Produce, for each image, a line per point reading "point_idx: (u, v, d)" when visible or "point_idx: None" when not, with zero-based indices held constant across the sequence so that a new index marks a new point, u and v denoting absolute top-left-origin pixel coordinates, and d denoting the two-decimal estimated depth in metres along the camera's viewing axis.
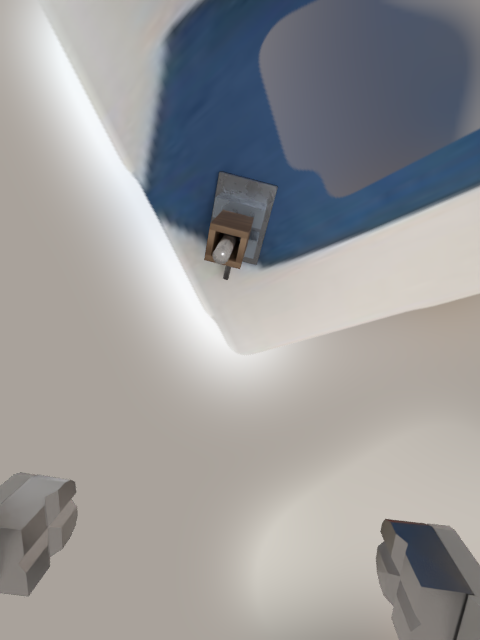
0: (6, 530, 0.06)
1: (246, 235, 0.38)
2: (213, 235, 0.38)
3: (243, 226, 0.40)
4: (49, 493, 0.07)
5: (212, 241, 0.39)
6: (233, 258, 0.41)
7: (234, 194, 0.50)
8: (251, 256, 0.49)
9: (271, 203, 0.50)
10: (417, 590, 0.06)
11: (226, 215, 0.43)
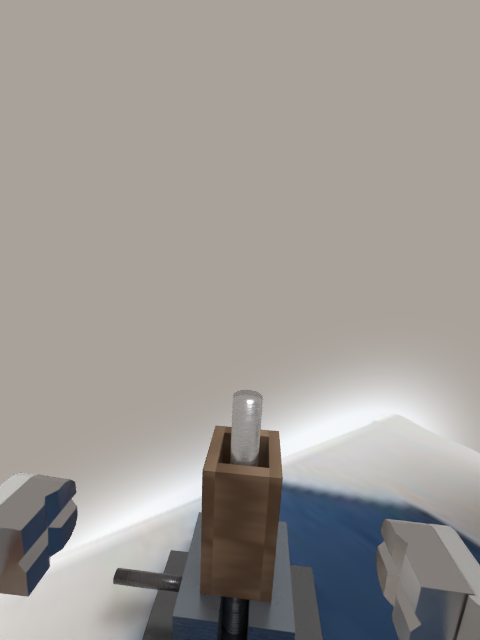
0: (6, 530, 0.06)
1: (276, 476, 0.18)
2: (260, 434, 0.22)
3: None
4: (49, 493, 0.07)
5: None
6: None
7: None
8: (178, 610, 0.20)
9: None
10: (417, 590, 0.06)
11: None
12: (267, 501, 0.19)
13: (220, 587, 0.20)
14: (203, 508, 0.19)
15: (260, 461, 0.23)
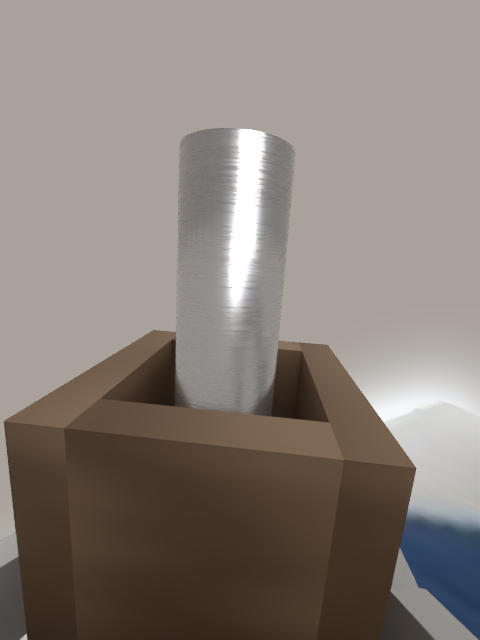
0: None
1: (378, 456, 0.03)
2: None
3: None
4: None
5: None
6: None
7: None
8: None
9: None
10: None
11: None
12: (324, 583, 0.04)
13: None
14: (30, 600, 0.04)
15: None
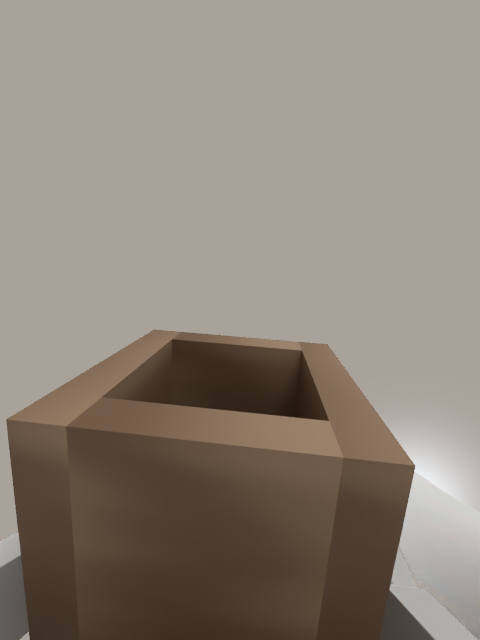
0: None
1: (378, 454, 0.04)
2: (276, 346, 0.08)
3: None
4: None
5: (246, 344, 0.08)
6: None
7: None
8: None
9: None
10: None
11: None
12: (324, 580, 0.04)
13: None
14: (32, 597, 0.04)
15: None
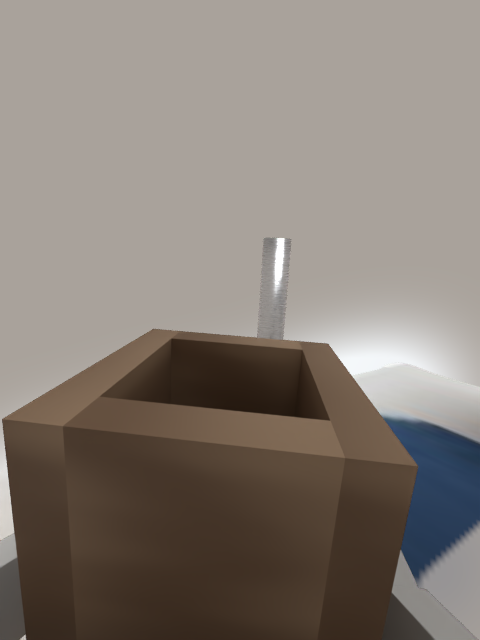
0: None
1: (379, 454, 0.03)
2: (276, 345, 0.08)
3: None
4: None
5: (245, 343, 0.08)
6: None
7: None
8: None
9: None
10: None
11: None
12: (325, 582, 0.04)
13: None
14: (28, 599, 0.04)
15: None
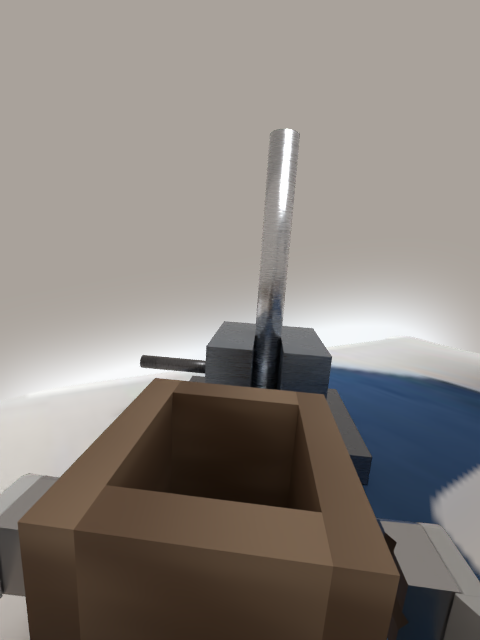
0: (16, 531, 0.06)
1: (365, 562, 0.04)
2: (274, 399, 0.08)
3: None
4: None
5: (244, 397, 0.08)
6: None
7: None
8: (212, 345, 0.19)
9: None
10: (404, 588, 0.06)
11: None
12: None
13: None
14: None
15: (272, 476, 0.08)
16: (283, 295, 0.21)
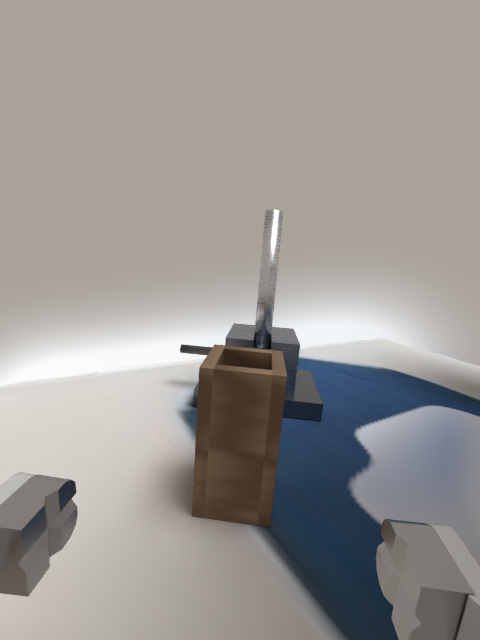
0: (6, 530, 0.06)
1: (280, 375, 0.17)
2: (262, 351, 0.21)
3: None
4: (49, 493, 0.07)
5: (251, 350, 0.21)
6: None
7: None
8: (229, 337, 0.32)
9: (297, 400, 0.32)
10: (417, 590, 0.06)
11: None
12: (269, 404, 0.17)
13: (214, 508, 0.19)
14: (199, 413, 0.17)
15: None
16: (272, 307, 0.34)
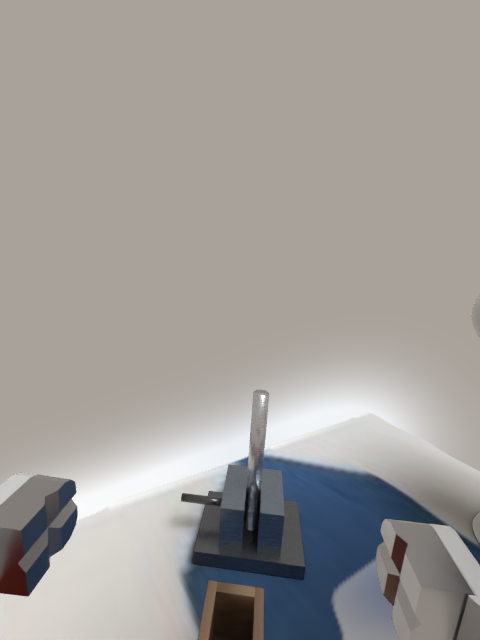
0: (6, 530, 0.06)
1: None
2: (247, 594, 0.26)
3: None
4: (49, 493, 0.07)
5: (238, 592, 0.26)
6: None
7: None
8: (223, 505, 0.37)
9: (282, 561, 0.37)
10: (417, 590, 0.06)
11: None
12: None
13: None
14: None
15: (247, 615, 0.26)
16: (261, 470, 0.39)
